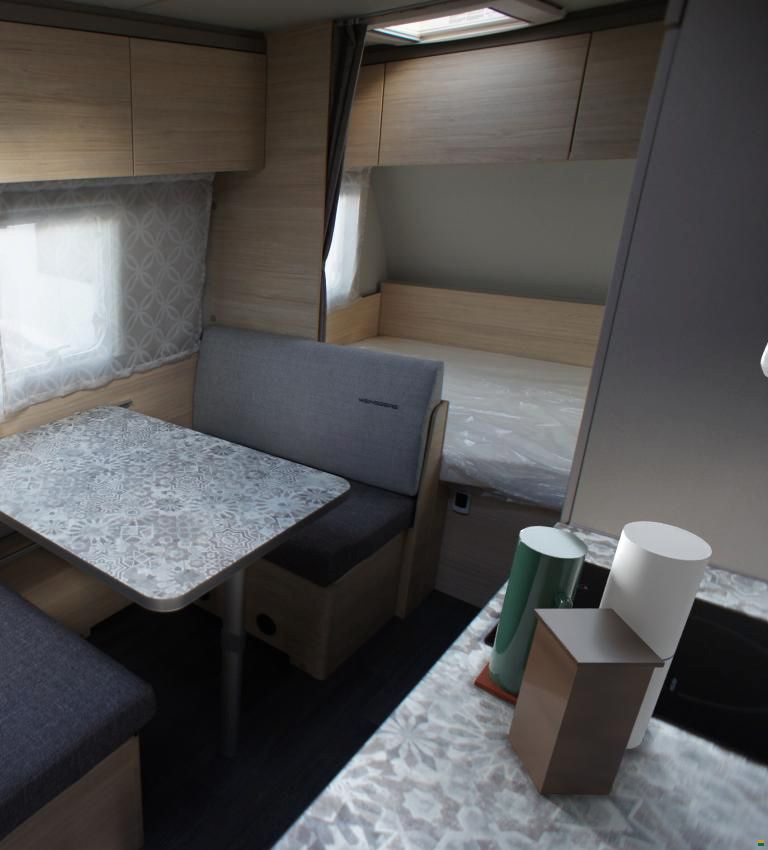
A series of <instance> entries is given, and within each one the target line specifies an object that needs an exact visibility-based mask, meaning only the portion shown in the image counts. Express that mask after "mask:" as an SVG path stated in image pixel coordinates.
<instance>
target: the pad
mask: <svg viewBox="0 0 768 850" xmlns="http://www.w3.org/2000/svg"><path fill="white" fill-rule="evenodd" d="M489 663H490V660H488V662H487V663H486V665H485V666H484V667H483V669H482V670H481V672H480V673H479V674H478V675H477V677H476V678H475V680H474V681H473V682H474V683H473V684H474V686H476V687H477V688H480V689H482V690H483V691H486V692H488V693H490V694H492V695H494V696H496V697H498V698H500V699H502V700H503V701H506V702H508V703H509V704H512V705H514V706H516V704H517V700H518V697H517V696H514V695H511V694H509V693H507V692H505V691H504V690H502V689H501V688H499V687H498V686H497V685H496V684H495V683H494V682H493V681H492V680H491V678H490V676H489V674H488V667H489Z"/></svg>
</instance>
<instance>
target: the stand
mask: <svg viewBox="0 0 768 850" xmlns="http://www.w3.org/2000/svg"><path fill="white" fill-rule="evenodd" d="M534 615H535V616H536V617H537V618H538V623H537V627H536V631H535V635H534V638H533V642H532V646H531V650H530V654H529V658H528V662H527V665H526V669H525V673H524V677H523V681H522V685H521V688H520V692H519V696H518V700H517V704H516V705H515V708H514V711H513V716H512V718H511V719H512V720H511V722H510V727H509V731H508V735H507V742H508V743H509V744H510V746H511V748H512V749H513V751H514V752H515V754H516V756H517V758H518V760H519V762H520V763H521V765H522V767H523V768H524V770H525V771H526V773H527V775H528V776H529V778H530V780H531V781H532V782H533V785H534V787H535V788H536V790H537V791H538V793H539V795H551V796H552V795H560V796H561V795H562V796H563V795H564V796H565V795H569V796H571V795H572V796H574V795H575V796H577V795H578V796H579V795H580V796H610V794H611V791H612V789H613V786H614V783H615V782H616V781H615V780H616V779H617V775H618V773H619V769H620V767H621V763H622V761H623V758H624V755H625V753H626V750H627V749H626V747H627V744H628V742H629V739H630V736H631V733H632V730H633V728H634V725H635V722H636V719H637V716H638V714H639V711H640V708H641V705H642V702H643V700H644V697H645V694H646V691H647V688H648V686H649V683H650V680H651V677H652V674H653V672H654V669H655V668H663V667H664V665H665V662H664V661H663V660H662V659H661V658H660V657H659V656H658V655H657V654H656V653H655V652H654V651H653V650H652V649H651V648H650V647H649V646H648V645H647V644H646V643H645V642H644V641H643V640H642V639H641V638H640V637H639V636H638V635H637V634H636V633H635V632H634V630H633V629H632V628H631V627H630V626H629V625H628V624H627V623H626V622H625V621H624V620H623V619H622V618H621V617H620V616H619V615H618V614H617V613H616V612H615V611H614V610H613V609H611V608H605V609H599V608H572V609H534Z"/></svg>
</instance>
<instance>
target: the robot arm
mask: <svg viewBox="0 0 768 850" xmlns="http://www.w3.org/2000/svg"><path fill="white" fill-rule="evenodd" d="M760 367H761V370H762V372H763V374H764V376H765V377H767V378H768V343H767V344H766V346H765V348H764V351H763V354H762V356H761V359H760Z"/></svg>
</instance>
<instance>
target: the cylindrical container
mask: <svg viewBox="0 0 768 850" xmlns="http://www.w3.org/2000/svg"><path fill="white" fill-rule="evenodd" d="M712 553H713V550H712V548H711V546H710V544H709V543H708V542H707V541H706V540H704V539H703V538H701V537H700V536H699V535H697V534H695V533H692V532H690V531H688V530H686V529H683V528H680V527H678V526H674V525H671V524H666V523H663V522H658V521H657V522H656V521H650V520H649V521H648V520H645V521H644V520H641V521H640V520H638V521H633V522H629V523H626V524H625V525H624V526H623V528H622V531H621V534H620V538H619V541H618V545H617V547H616V551H615V554H614V558H613V560H612V564H611V567H610V571H609V574H608V577H607V580H606V584H605V587H604V591H603V594H602V597H601V600H600V604H599V607H598V609H605V608H611V609H613V610H614V611H615V612H616V613H617V614H618V615H619V616H620V617H621V618H622V619H623V620H624V621H625V622H626V623H627V624H628V625H629V626H630V627H631V628H632V629H633V630H634V632H635V633H636V634H637V635H638V636H639V637H640V638H641V639H642V640H643V641H644V642H645V643H646V644H647V645H648V646H649V647H650V648H651V649H652V650H653V651H654V652H655V653H656V654H657V655H658V656H659V657H660V658H661V659H662V660H663V661H664V662H665V665H664V667H663V668H655V669H654V672H653V674H652V677H651V680H650V683H649V686H648V688H647V691H646V694H645V697H644V700H643V702H642V705H641V708H640V711H639V714H638V716H637V719H636V722H635V725H634V728H633V730H632V733H631V736H630V739H629V742H628V744H627V747H626V750H630V749H634V748H637V747H639V746H640V745H641V744H642V742H643V741H644V740H643V739H644V737H645V734H646V731H647V728H648V727H649V724H650V721H651V719H652V715H653V713H654V710H655V707H656V705H657V702H658V699H659V697H660V694H661V691H662V688H663V686H664V683H665V680H666V678H667V674H668V672H669V669H670V667H671V664H672V661H673V658H674V656H675V654H676V651H677V649H678V645H679V642H680V641H681V640H680V639H681V637H682V635H683V631H684V629H685V626H686V623H687V620H688V618H689V616H690V613H691V610H692V607H693V604H694V602H695V599H696V596H697V594H698V592H699V588H700V586H701V583H702V580H703V577H704V575H705V572H706V569H707V566H708V564H709V562H710V559H711V556H712Z"/></svg>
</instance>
